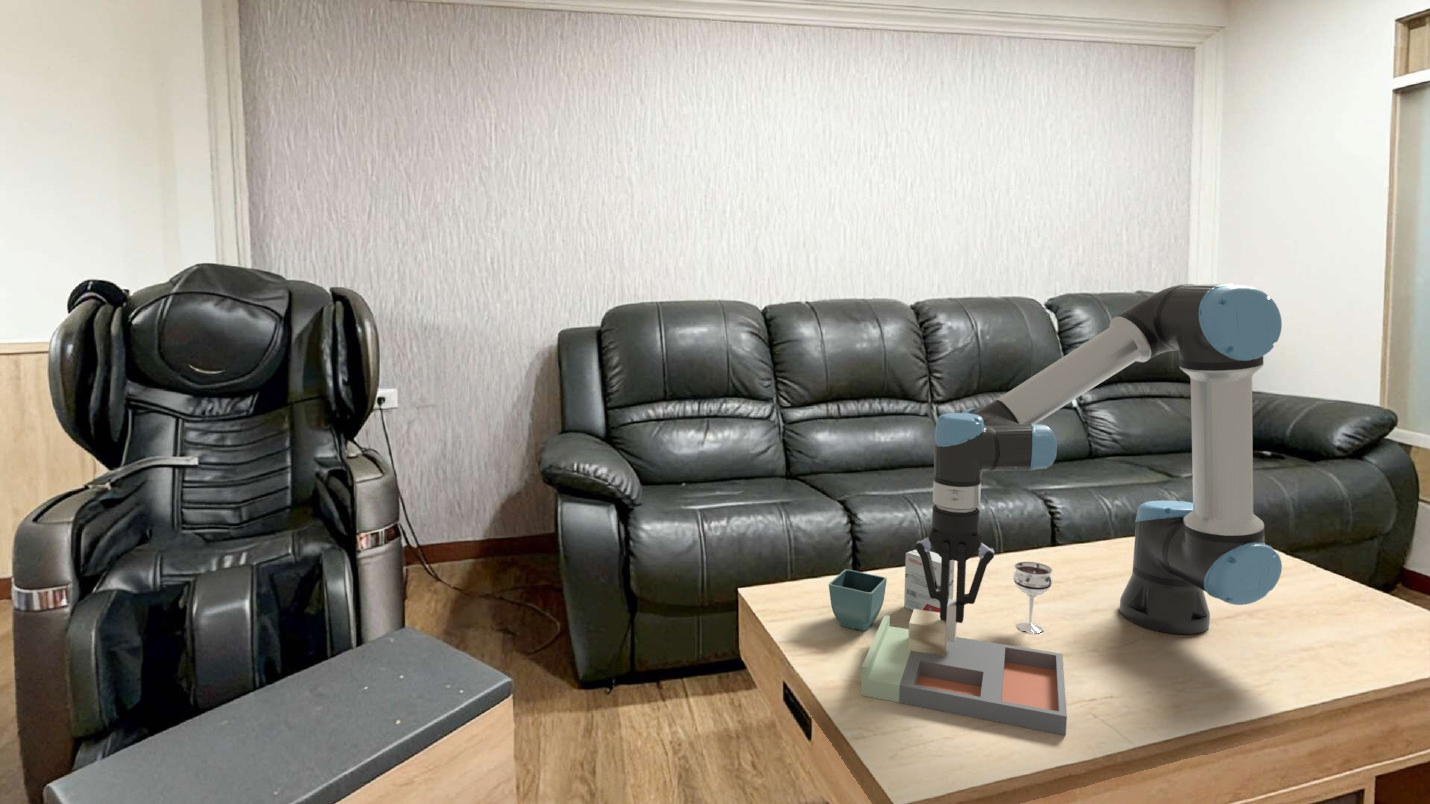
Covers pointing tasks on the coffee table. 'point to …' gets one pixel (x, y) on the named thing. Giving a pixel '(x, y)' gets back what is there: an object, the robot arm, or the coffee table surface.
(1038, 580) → the wineglass
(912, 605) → the ink box
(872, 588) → the flower pot
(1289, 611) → the coffee table surface
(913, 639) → the birch block
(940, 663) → the grey compartment tray
